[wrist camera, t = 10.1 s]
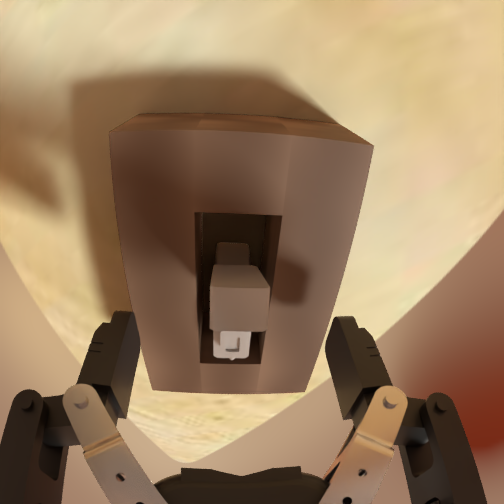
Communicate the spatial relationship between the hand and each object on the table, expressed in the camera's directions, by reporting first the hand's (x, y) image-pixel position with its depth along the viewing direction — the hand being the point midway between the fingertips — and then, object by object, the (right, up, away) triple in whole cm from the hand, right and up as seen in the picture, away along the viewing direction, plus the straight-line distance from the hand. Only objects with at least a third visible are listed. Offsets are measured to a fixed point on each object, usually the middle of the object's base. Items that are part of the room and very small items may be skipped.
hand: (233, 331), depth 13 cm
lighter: (0, +3, +5) cm, 6 cm away
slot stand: (0, +3, +5) cm, 6 cm away
